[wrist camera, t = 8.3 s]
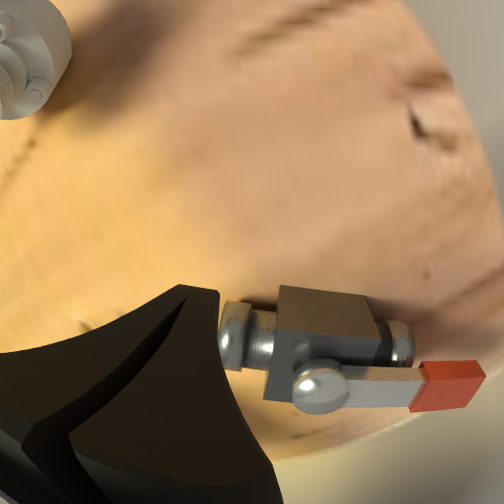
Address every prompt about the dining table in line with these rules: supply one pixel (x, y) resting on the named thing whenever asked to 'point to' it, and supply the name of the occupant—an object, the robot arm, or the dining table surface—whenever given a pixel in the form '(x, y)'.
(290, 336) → the pipe valve
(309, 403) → the valve lever
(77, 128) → the dining table surface
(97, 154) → the dining table surface
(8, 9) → the grey rounded housing
